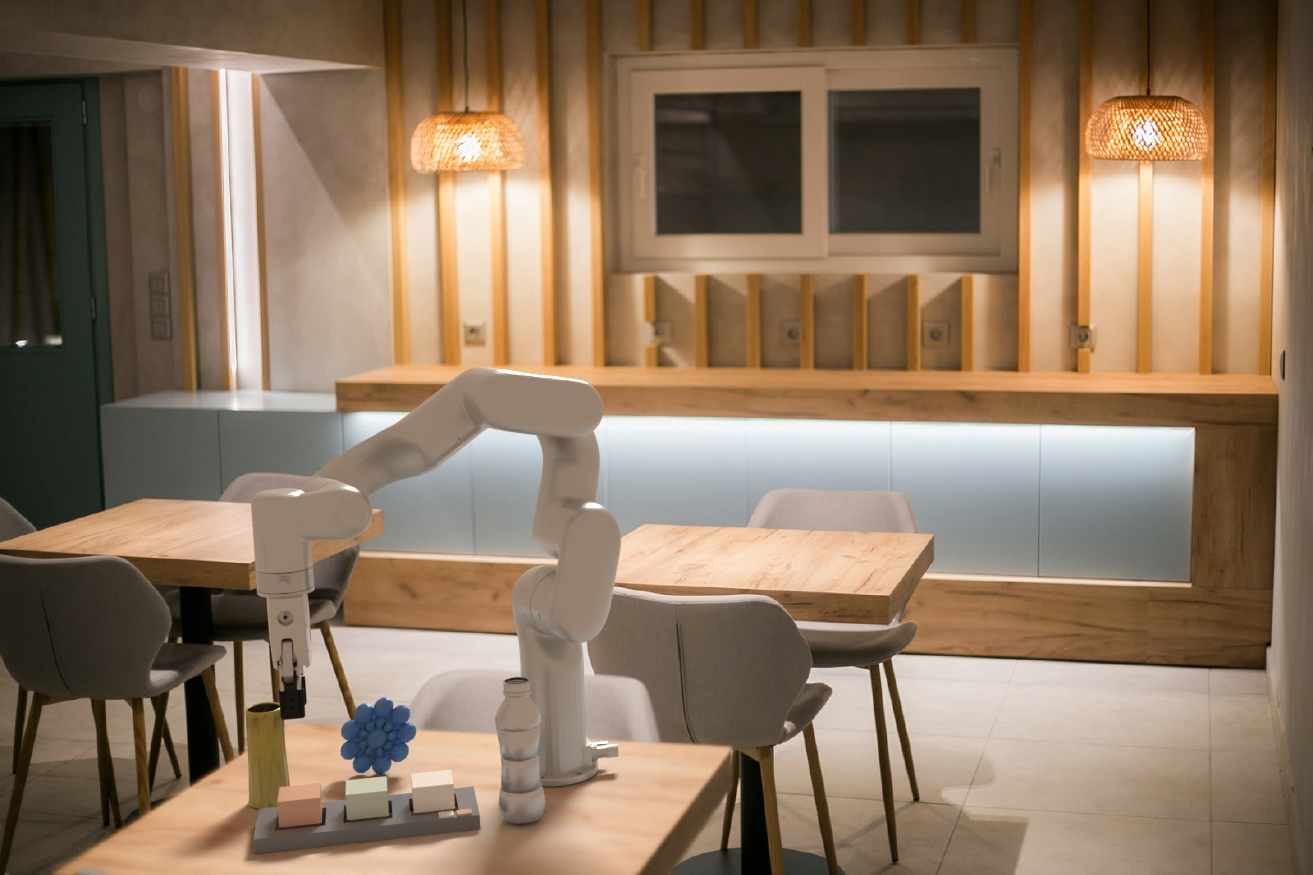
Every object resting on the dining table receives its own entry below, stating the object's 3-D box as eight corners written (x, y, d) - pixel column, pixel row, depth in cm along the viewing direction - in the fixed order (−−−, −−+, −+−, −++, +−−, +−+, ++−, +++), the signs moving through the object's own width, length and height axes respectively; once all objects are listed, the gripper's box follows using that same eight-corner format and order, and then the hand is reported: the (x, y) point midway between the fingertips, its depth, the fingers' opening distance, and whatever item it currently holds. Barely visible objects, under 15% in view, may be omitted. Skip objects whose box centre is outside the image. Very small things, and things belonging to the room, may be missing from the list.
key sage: (388, 800, 202) (386, 776, 202) (388, 815, 197) (387, 790, 197) (347, 805, 201) (345, 780, 201) (347, 820, 196) (345, 795, 195)
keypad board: (474, 799, 208) (473, 784, 207) (480, 828, 197) (479, 812, 197) (259, 822, 202) (258, 806, 202) (254, 853, 191) (253, 837, 191)
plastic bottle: (510, 833, 195) (503, 690, 193) (492, 816, 201) (485, 678, 199) (554, 823, 198) (547, 682, 196) (534, 807, 204) (528, 670, 202)
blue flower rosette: (421, 762, 224) (417, 687, 222) (416, 777, 217) (412, 701, 216) (346, 765, 223) (341, 690, 222) (339, 781, 217) (334, 704, 215)
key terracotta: (322, 807, 201) (320, 783, 200) (321, 823, 195) (319, 797, 195) (281, 812, 200) (279, 787, 199) (279, 827, 194) (277, 802, 194)
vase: (280, 811, 206) (273, 714, 204) (240, 809, 207) (234, 713, 205) (299, 795, 212) (292, 701, 210) (260, 793, 213) (254, 700, 211)
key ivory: (452, 794, 204) (451, 769, 204) (454, 808, 199) (453, 783, 198) (412, 798, 203) (411, 773, 203) (413, 813, 198) (412, 788, 197)
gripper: (311, 593, 186) (320, 729, 188) (315, 565, 202) (323, 691, 204) (251, 597, 184) (261, 734, 186) (260, 569, 201) (269, 696, 203)
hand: (294, 710), depth 195 cm, fingers open, 4 cm apart
